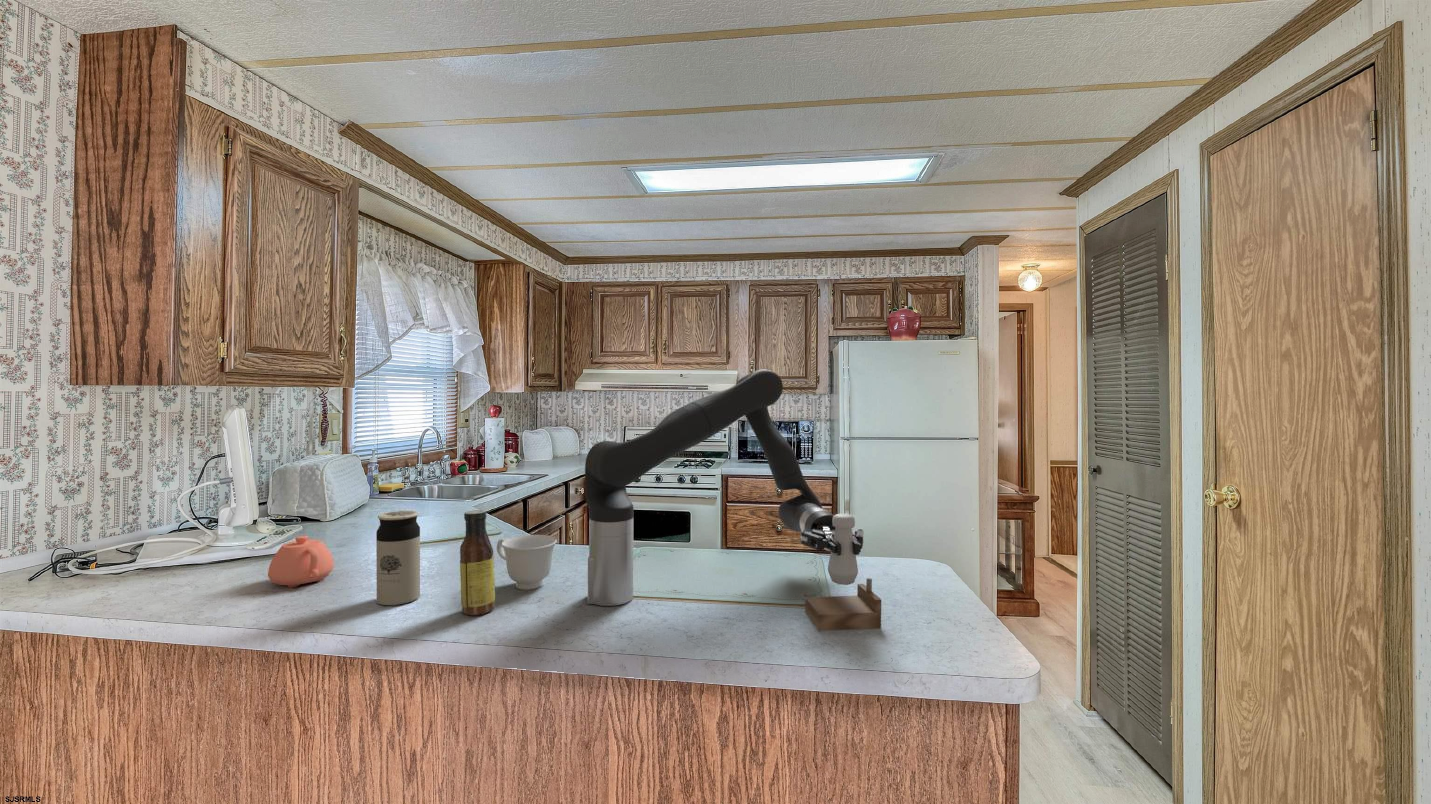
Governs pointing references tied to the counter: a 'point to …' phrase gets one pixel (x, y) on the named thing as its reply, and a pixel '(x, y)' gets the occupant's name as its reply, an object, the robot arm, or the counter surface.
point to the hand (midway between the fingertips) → (848, 549)
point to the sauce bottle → (476, 566)
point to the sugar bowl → (300, 562)
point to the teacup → (527, 558)
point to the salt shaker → (843, 551)
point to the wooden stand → (846, 610)
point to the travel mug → (398, 558)
